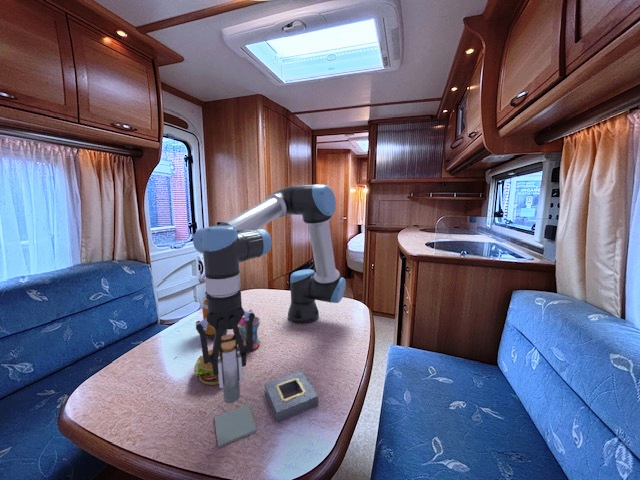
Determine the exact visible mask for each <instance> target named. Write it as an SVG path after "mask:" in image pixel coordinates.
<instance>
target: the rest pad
mask: <svg viewBox="0 0 640 480" xmlns="http://www.w3.org/2000/svg"><path fill="white" fill-rule="evenodd" d="M214 425H215V434H216V442H217V448H218V447H219V448H220V446H221V447H224V446H225V444H226V445H228V444H231V443H233V442H235V441H237V440H240V439H242V438H245V437H247V436H250V435H252V434H254V433H256V432H257V427H256V424H255V422H254V417H253V415H252V410H251V408H250V404H246V405H242V406H241V407H237V408H235V409H232V410H230V411H227V412H224V413H221V414H218V415H217V416H214ZM232 441H233V442H232ZM230 442H231V443H230ZM227 443H228V444H227Z"/></svg>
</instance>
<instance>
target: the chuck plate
mask: <svg viewBox="0 0 640 480" xmlns="http://www.w3.org/2000/svg"><path fill="white" fill-rule="evenodd" d="M294 390H295V391H297V394H294V395H292V396H288V397H287V398H285V397H284V394H288V393H289V392H292V391H294ZM264 393H265V395H266V397H267V401H268V402H269V406H270V408H271V410H272V413H273V415H274V418H275V421H276V423H280V422H283V421H285V420H288V419H291V418H293V417H294V416H297V415H299V414H301V413H304V412H306V411H309V410H311V409H313V408H315V407H318V406H319V395H318V393H317V392H316V390H315V389H314V387H313V385H312V384H311V382H310V381H309V380H308V378H307V377H306V375H305V374H304V372H303V371H302V370H299V371H297V372H293V373H291V374H288V375H285V376H282V377H279V378H276V379H273V380H271V381H267V382H265V383H264Z"/></svg>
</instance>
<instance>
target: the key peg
mask: <svg viewBox="0 0 640 480" xmlns="http://www.w3.org/2000/svg"><path fill="white" fill-rule="evenodd" d="M219 351H220V360H221V365H222V378H223V387H222V393H223V394H222V397H223V402H224V403H226V404H234V403H235V402H238V400H239V399H240V398H241V384H240V380H239V369H238V354H237V352H238V344H237V341H236V338H235V335H234V333H228V334H227V333H226V334H225V335H223V336H221V343H220V350H219Z"/></svg>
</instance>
